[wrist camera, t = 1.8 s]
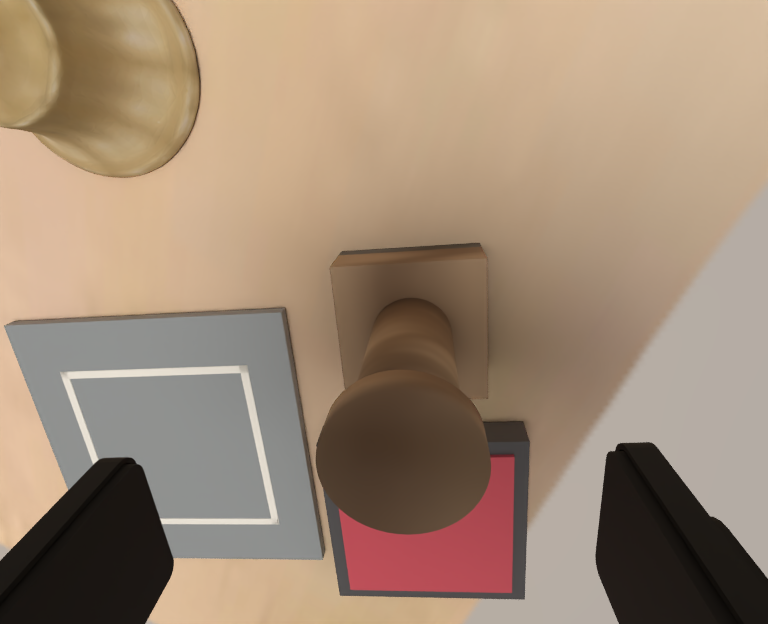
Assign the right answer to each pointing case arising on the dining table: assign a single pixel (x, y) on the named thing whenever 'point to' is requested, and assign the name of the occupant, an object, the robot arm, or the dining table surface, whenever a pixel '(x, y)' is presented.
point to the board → (184, 421)
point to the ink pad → (447, 539)
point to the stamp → (409, 387)
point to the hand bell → (99, 80)
